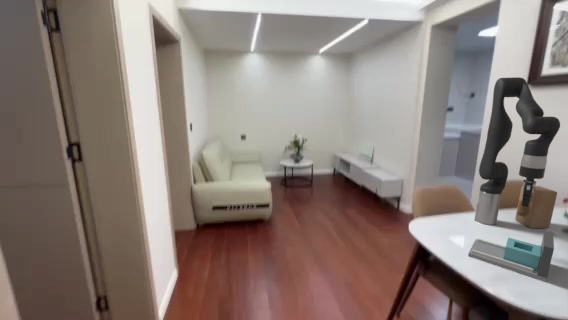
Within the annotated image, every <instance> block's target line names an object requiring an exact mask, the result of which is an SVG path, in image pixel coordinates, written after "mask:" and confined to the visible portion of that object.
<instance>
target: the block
mask: <svg viewBox="0 0 568 320" xmlns="http://www.w3.org/2000/svg"><path fill="white" fill-rule="evenodd" d="M521 190H522V187H520V193H519V199H518V204H517V208H516V213H515V218H514V220H515V221H516V222H518V223H520V224H522V225H523V226H526V227H528V228H530V229H549V228H550V225H551V223H552V222H551V221H552V217H553V213H554V208H555V204H556V200H557V195H558V192H557V191H555V190H552V189H549V188H547V187H544V186H539V185H536V186H535V192H534V197H533V202H532V207H531V212H530V217H523V216H519V215H517V211H518V206H519V201H520V195H521Z"/></svg>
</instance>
